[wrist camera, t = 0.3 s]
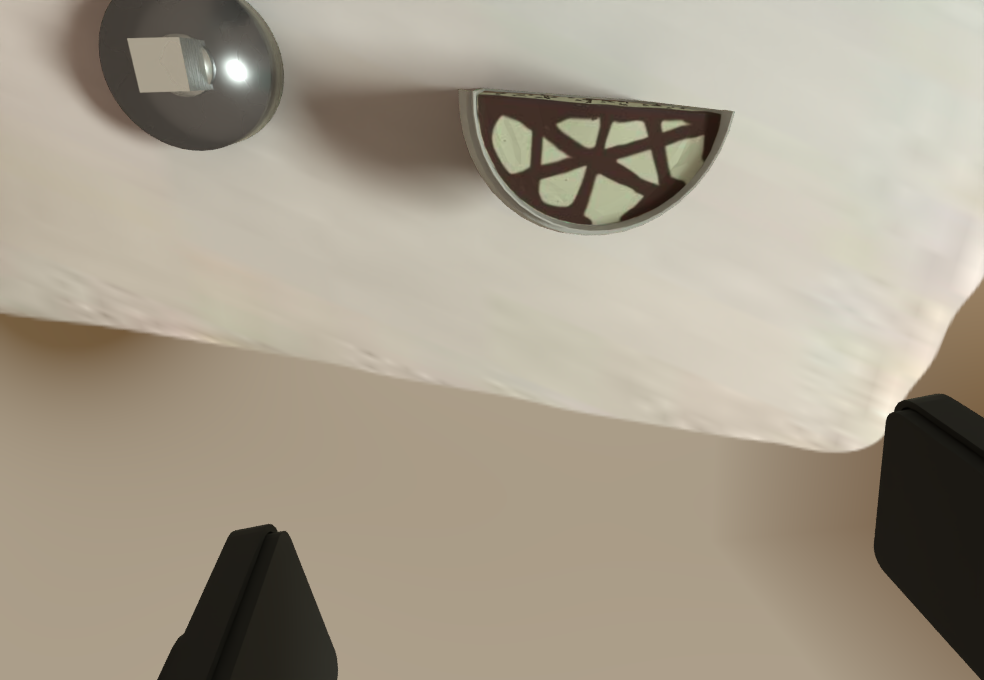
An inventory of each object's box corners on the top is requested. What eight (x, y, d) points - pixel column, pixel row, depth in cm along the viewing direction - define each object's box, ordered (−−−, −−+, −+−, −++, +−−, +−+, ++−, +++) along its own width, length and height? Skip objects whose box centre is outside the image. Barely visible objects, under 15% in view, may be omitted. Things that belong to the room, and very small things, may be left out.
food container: (449, 197, 37) (452, 238, 28) (454, 86, 34) (459, 90, 25) (649, 209, 38) (715, 252, 29) (667, 102, 36) (746, 112, 27)
